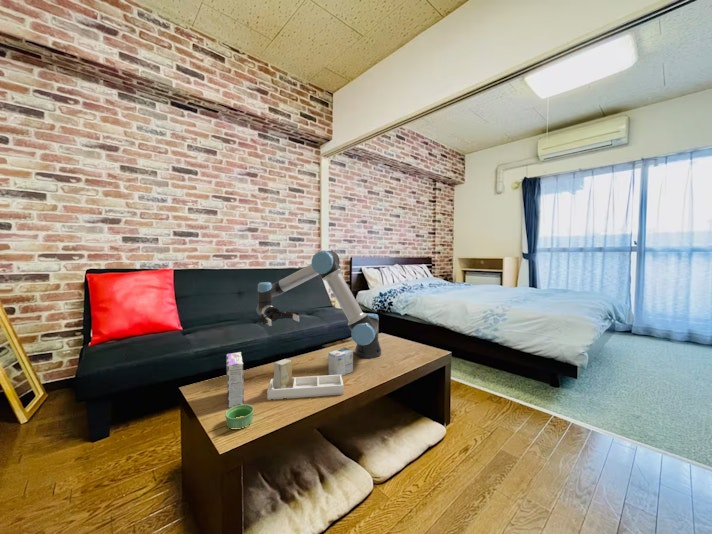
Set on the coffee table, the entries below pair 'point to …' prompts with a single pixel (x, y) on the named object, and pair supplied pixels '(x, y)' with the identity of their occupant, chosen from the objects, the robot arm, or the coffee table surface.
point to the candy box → (235, 379)
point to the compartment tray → (308, 387)
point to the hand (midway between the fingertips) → (285, 320)
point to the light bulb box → (340, 361)
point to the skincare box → (283, 374)
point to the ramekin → (237, 412)
